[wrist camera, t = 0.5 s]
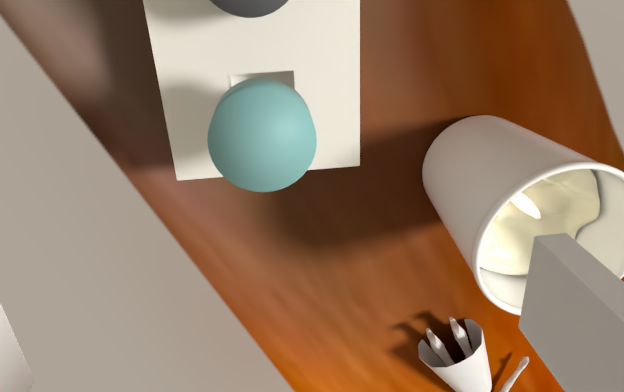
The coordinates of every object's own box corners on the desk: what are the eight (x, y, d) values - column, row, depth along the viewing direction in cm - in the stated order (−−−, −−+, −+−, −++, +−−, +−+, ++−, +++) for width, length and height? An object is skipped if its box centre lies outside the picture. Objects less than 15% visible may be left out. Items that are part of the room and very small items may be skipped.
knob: (213, 65, 27) (199, 92, 21) (302, 59, 27) (314, 84, 21) (225, 149, 29) (215, 196, 23) (307, 143, 30) (318, 187, 23)
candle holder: (557, 127, 35) (687, 194, 25) (495, 233, 39) (583, 332, 28) (446, 85, 33) (534, 140, 22) (391, 203, 37) (444, 297, 26)
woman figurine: (515, 314, 38) (563, 425, 46) (490, 279, 41) (539, 387, 50) (387, 375, 39) (457, 471, 48) (374, 336, 43) (441, 431, 52)
